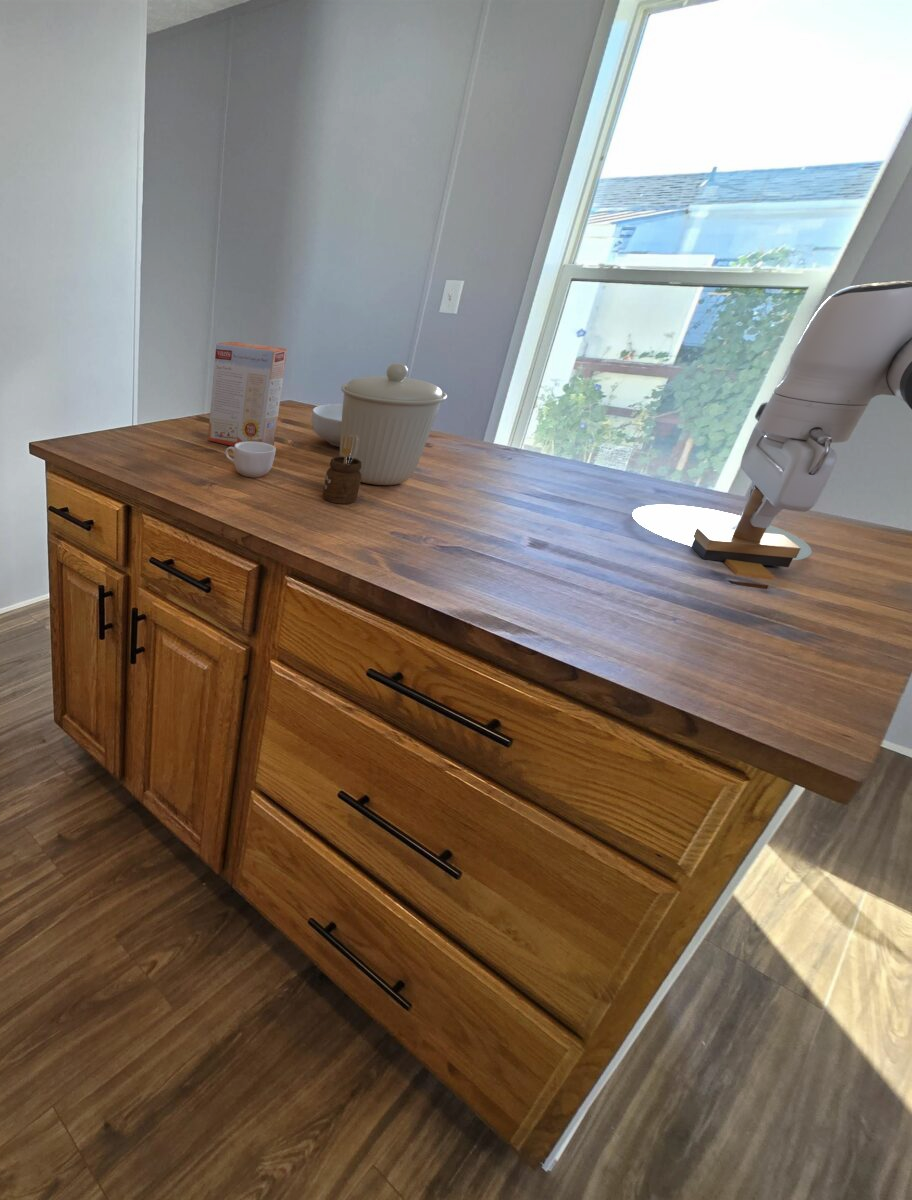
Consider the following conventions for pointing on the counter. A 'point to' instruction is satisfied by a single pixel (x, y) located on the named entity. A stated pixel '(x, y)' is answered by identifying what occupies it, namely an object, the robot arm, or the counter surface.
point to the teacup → (252, 458)
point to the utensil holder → (343, 477)
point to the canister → (388, 423)
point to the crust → (749, 572)
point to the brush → (746, 541)
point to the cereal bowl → (328, 422)
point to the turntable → (698, 524)
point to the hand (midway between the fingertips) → (753, 520)
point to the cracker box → (246, 393)
